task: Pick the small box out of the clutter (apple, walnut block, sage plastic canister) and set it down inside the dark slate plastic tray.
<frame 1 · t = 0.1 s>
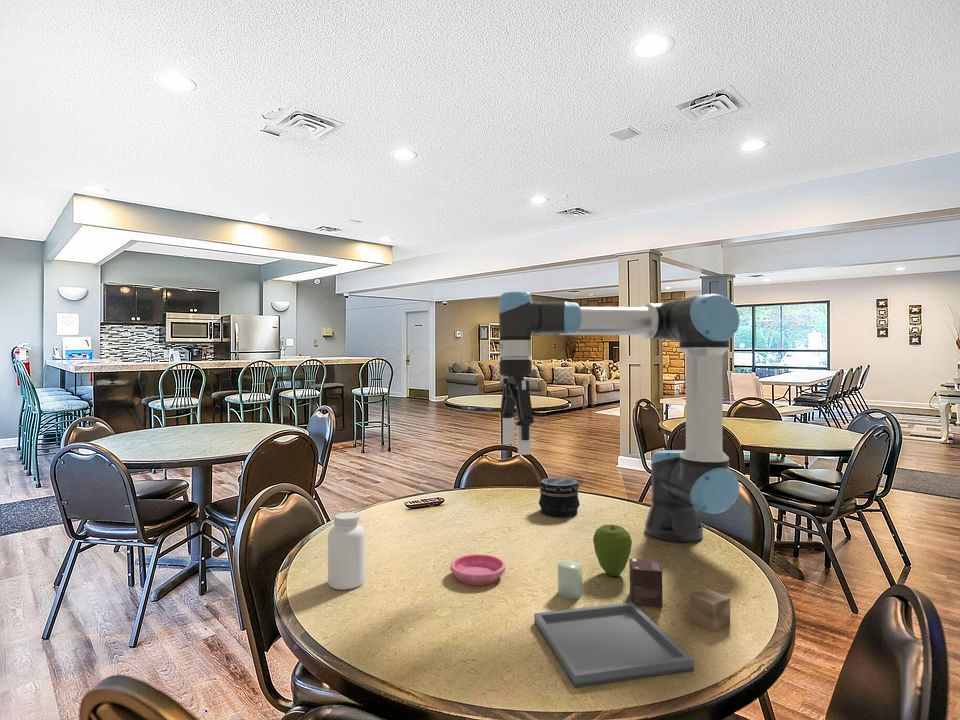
hand: (515, 449, 126), 28 cm above the table, fingers open, 13 cm apart
pink shallow round dish: (478, 578, 122), on the table
apple: (612, 575, 122), on the table
box: (645, 601, 110), on the table
tray: (607, 644, 93), on the table
pill bottle: (346, 583, 119), on the table
walnut block: (709, 622, 101), on the table
container: (559, 513, 170), on the table
sage canister: (570, 593, 113), on the table
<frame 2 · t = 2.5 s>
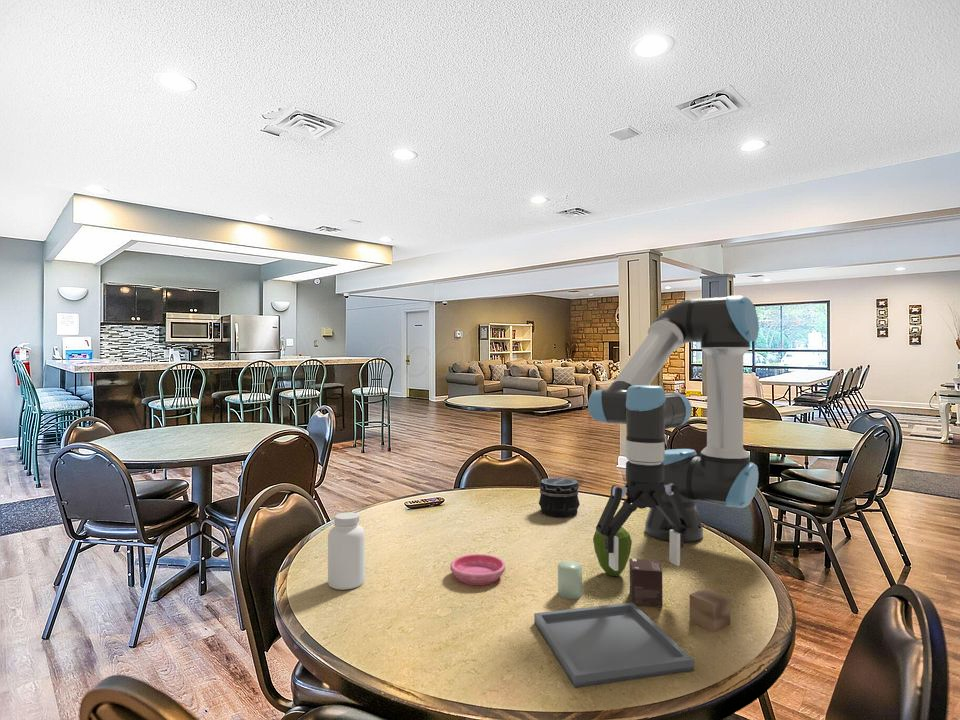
hand: (644, 565, 110), 7 cm above the table, fingers open, 13 cm apart
nothing on the table moved.
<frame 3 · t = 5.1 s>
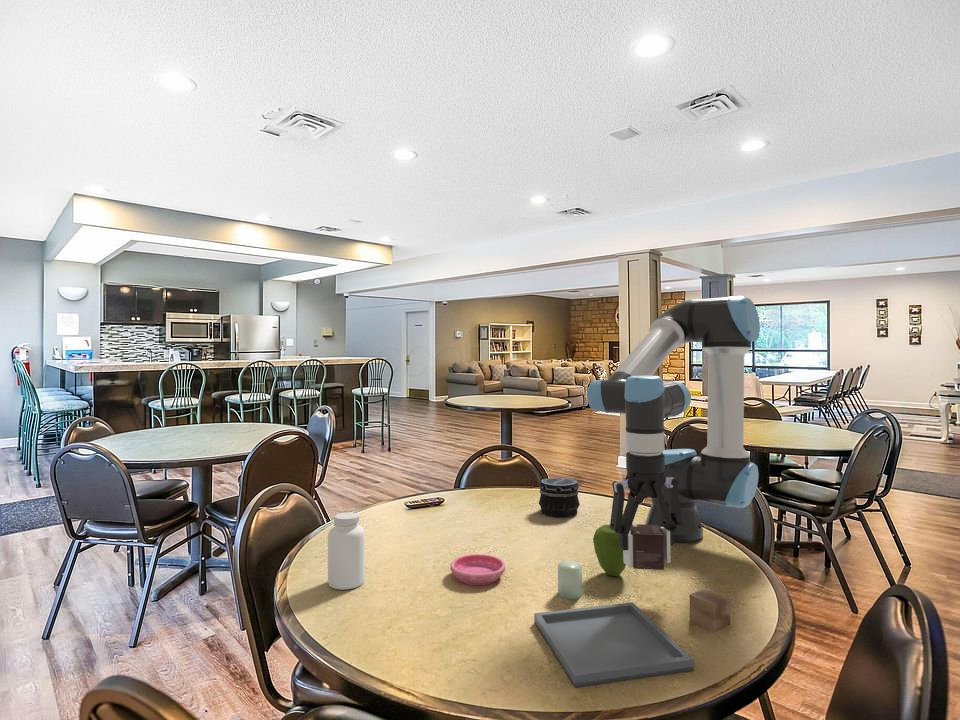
hand: (647, 562, 110), 7 cm above the table, fingers closed on box, 8 cm apart
box: (646, 565, 110), point 7 cm above the table, touching gripper
everything else where it was.
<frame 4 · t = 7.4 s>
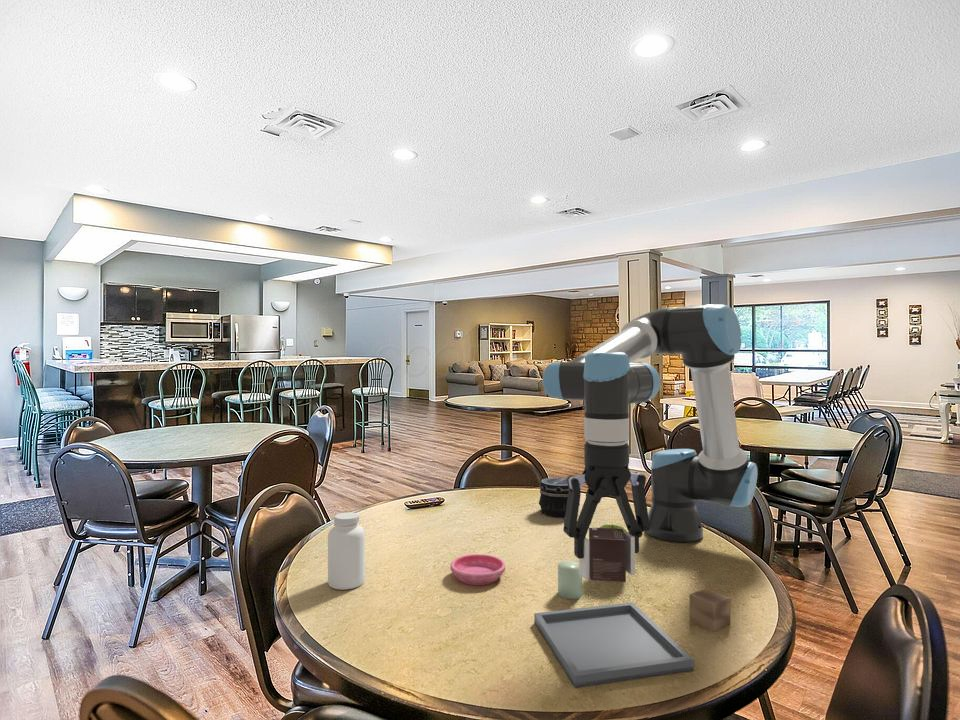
hand: (606, 573, 93), 12 cm above the table, fingers closed on box, 8 cm apart
box: (606, 576, 93), point 12 cm above the table, touching gripper
everything else where it was.
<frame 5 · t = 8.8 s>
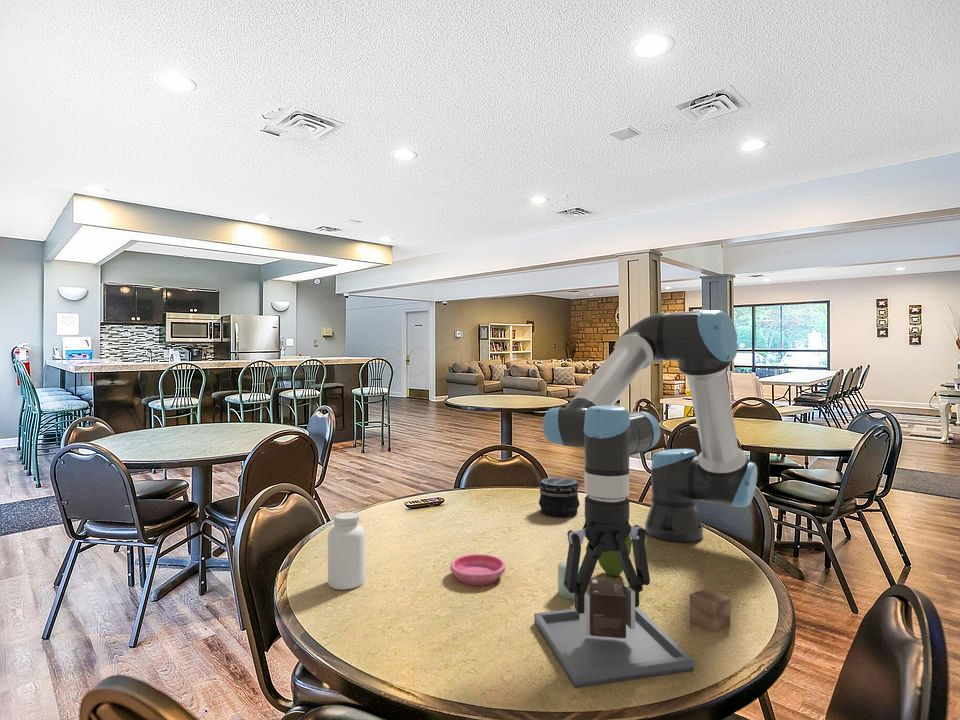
hand: (607, 627, 93), 3 cm above the table, fingers closed on box, 8 cm apart
box: (607, 630, 93), point 2 cm above the table, touching gripper
everything else where it was.
when the fingers open (2 cm above the table, at t = 10.0 s): box stays where it is, resting on tray.
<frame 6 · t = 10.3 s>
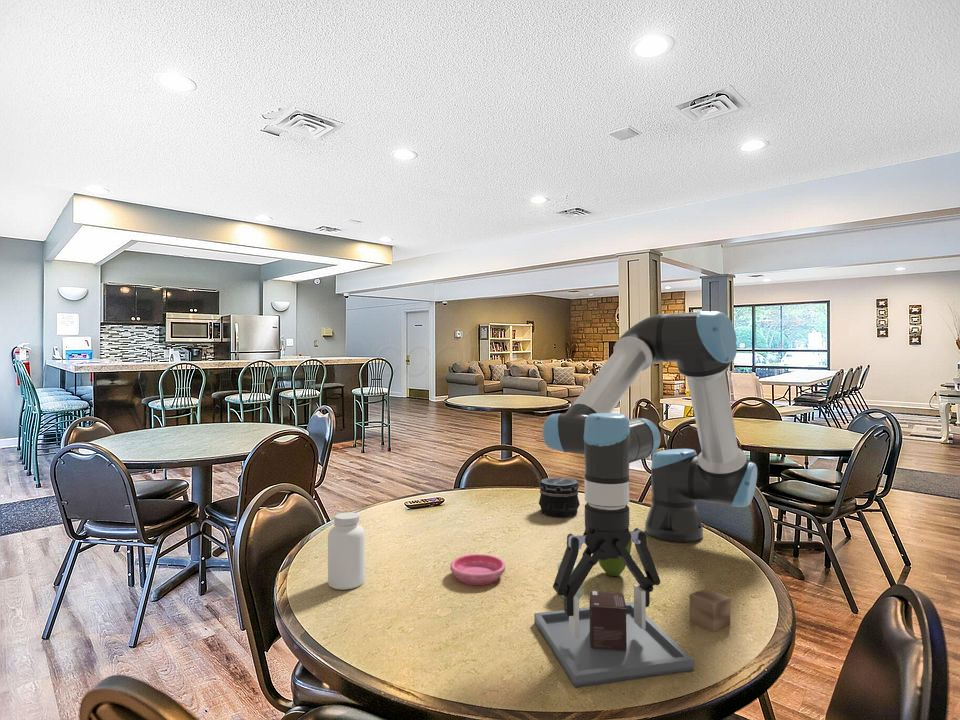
hand: (607, 629, 93), 3 cm above the table, fingers open, 11 cm apart
box: (607, 642, 93), resting on tray
everything else where it was.
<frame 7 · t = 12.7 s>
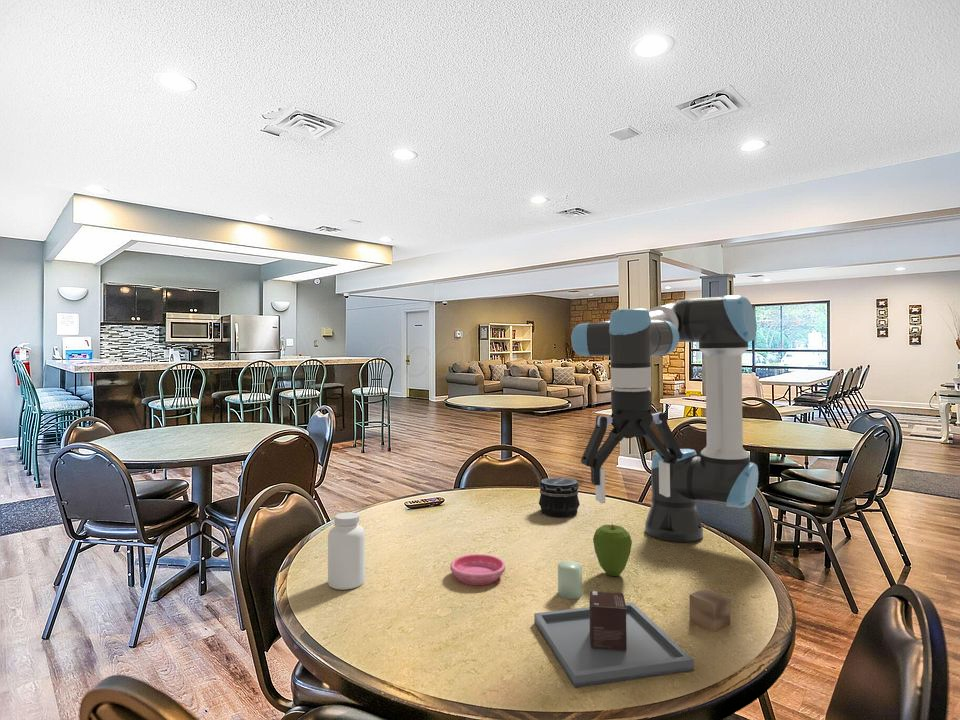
hand: (633, 498, 105), 22 cm above the table, fingers open, 13 cm apart
nothing on the table moved.
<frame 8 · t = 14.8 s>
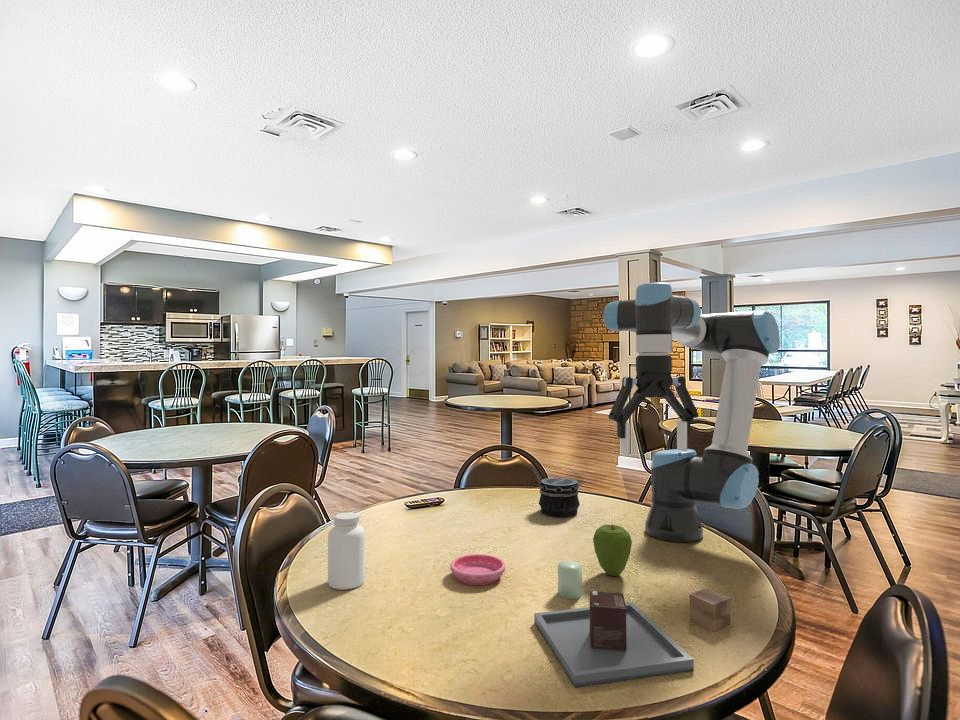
hand: (653, 451, 118), 29 cm above the table, fingers open, 13 cm apart
nothing on the table moved.
at the end: box inside the target area on the tray (0.0 cm from its centre), point 0.4 cm above the tray's base; box tilted 0°; the gripper is holding nothing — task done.
